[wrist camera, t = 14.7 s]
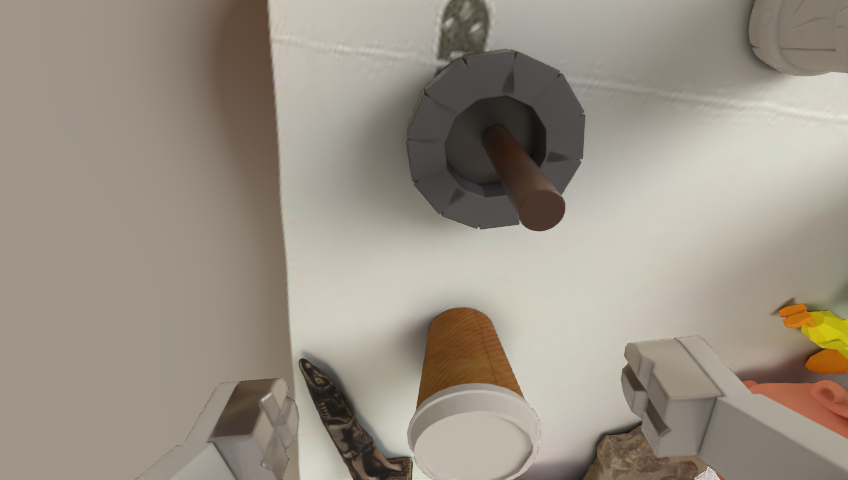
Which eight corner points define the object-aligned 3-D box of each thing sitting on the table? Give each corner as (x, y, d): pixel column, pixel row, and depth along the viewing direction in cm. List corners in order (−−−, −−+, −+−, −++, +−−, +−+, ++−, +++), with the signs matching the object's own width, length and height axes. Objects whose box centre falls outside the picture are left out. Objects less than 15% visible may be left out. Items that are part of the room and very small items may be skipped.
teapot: (858, 414, 43) (1009, 549, 32) (707, 472, 48) (793, 606, 37) (823, 332, 38) (991, 461, 26) (657, 406, 43) (740, 542, 31)
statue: (414, 499, 44) (362, 370, 35) (352, 507, 44) (285, 383, 35) (414, 462, 48) (367, 337, 38) (357, 471, 48) (298, 350, 39)
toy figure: (745, 313, 39) (823, 367, 41) (756, 344, 36) (838, 400, 39) (828, 283, 34) (910, 346, 37) (848, 317, 32) (934, 382, 34)
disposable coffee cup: (455, 383, 41) (467, 507, 30) (390, 331, 38) (377, 450, 27) (531, 335, 38) (573, 455, 27) (467, 274, 35) (487, 384, 24)
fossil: (549, 448, 46) (557, 479, 43) (685, 404, 42) (705, 434, 39) (584, 495, 51) (593, 525, 48) (709, 458, 47) (729, 489, 44)
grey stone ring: (396, 65, 25) (394, 69, 23) (575, 38, 25) (589, 39, 22) (421, 222, 31) (421, 237, 28) (569, 203, 30) (580, 217, 28)
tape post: (431, 84, 27) (437, 131, 15) (549, 66, 27) (650, 100, 15) (444, 192, 31) (458, 296, 19) (548, 178, 30) (628, 277, 19)
